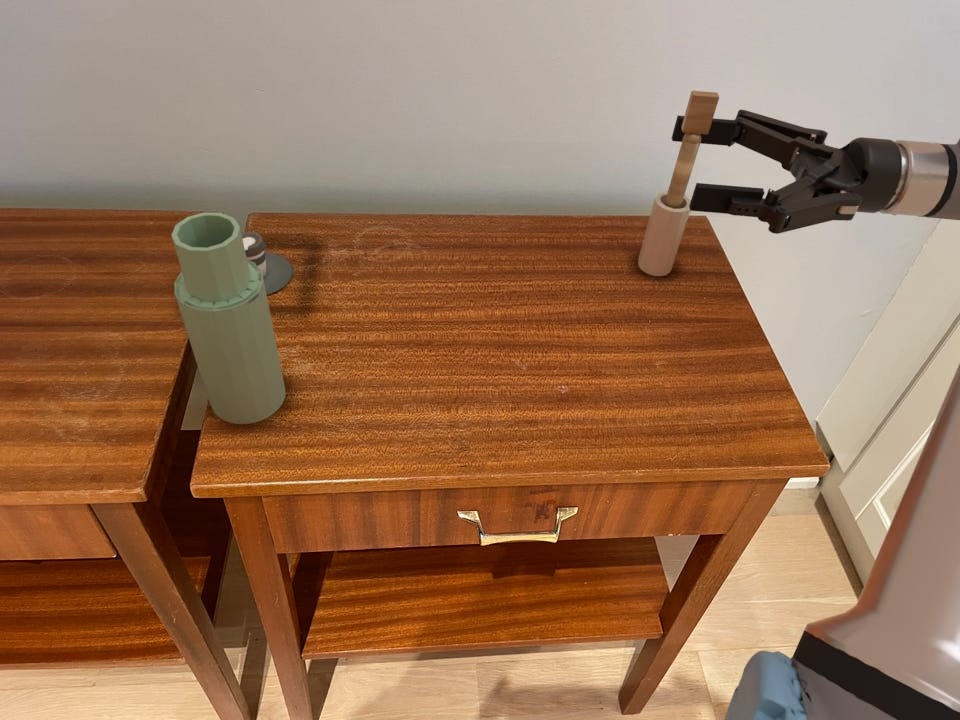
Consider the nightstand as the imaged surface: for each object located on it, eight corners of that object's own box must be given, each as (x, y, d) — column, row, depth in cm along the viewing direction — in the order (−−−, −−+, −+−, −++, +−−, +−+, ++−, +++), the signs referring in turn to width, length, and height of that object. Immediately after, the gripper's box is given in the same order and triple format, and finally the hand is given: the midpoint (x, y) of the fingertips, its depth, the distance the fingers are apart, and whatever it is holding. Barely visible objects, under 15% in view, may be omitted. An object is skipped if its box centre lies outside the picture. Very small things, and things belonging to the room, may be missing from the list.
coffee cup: (314, 243, 85) (310, 207, 82) (303, 312, 77) (297, 276, 73) (209, 241, 84) (200, 205, 81) (186, 312, 76) (175, 275, 72)
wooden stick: (667, 267, 85) (720, 99, 70) (645, 266, 85) (693, 96, 70) (665, 258, 86) (717, 90, 71) (643, 256, 86) (690, 88, 71)
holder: (665, 280, 84) (686, 215, 78) (633, 268, 85) (650, 204, 79) (675, 262, 87) (696, 197, 80) (644, 251, 88) (662, 186, 81)
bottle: (253, 435, 65) (209, 270, 52) (194, 405, 67) (137, 239, 54) (300, 387, 70) (271, 222, 56) (244, 360, 72) (202, 195, 58)
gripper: (910, 280, 70) (691, 263, 70) (836, 148, 88) (660, 133, 88) (950, 216, 65) (714, 196, 65) (863, 88, 82) (676, 72, 82)
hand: (683, 160), depth 76 cm, fingers open, 13 cm apart
